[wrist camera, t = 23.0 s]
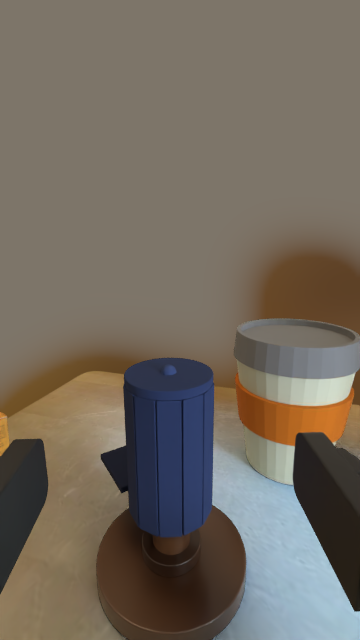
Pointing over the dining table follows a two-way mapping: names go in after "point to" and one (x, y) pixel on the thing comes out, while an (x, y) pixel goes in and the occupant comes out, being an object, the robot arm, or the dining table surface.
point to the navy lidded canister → (166, 445)
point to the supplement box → (3, 433)
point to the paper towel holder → (171, 579)
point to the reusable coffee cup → (292, 387)
